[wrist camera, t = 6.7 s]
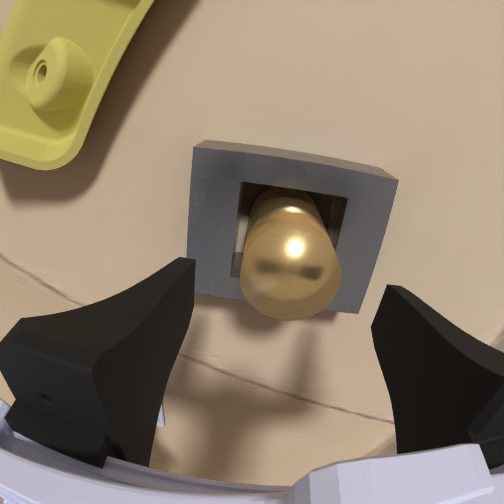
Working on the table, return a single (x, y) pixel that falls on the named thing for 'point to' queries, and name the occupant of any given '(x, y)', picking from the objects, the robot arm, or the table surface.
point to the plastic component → (59, 73)
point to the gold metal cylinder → (288, 257)
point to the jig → (289, 176)
